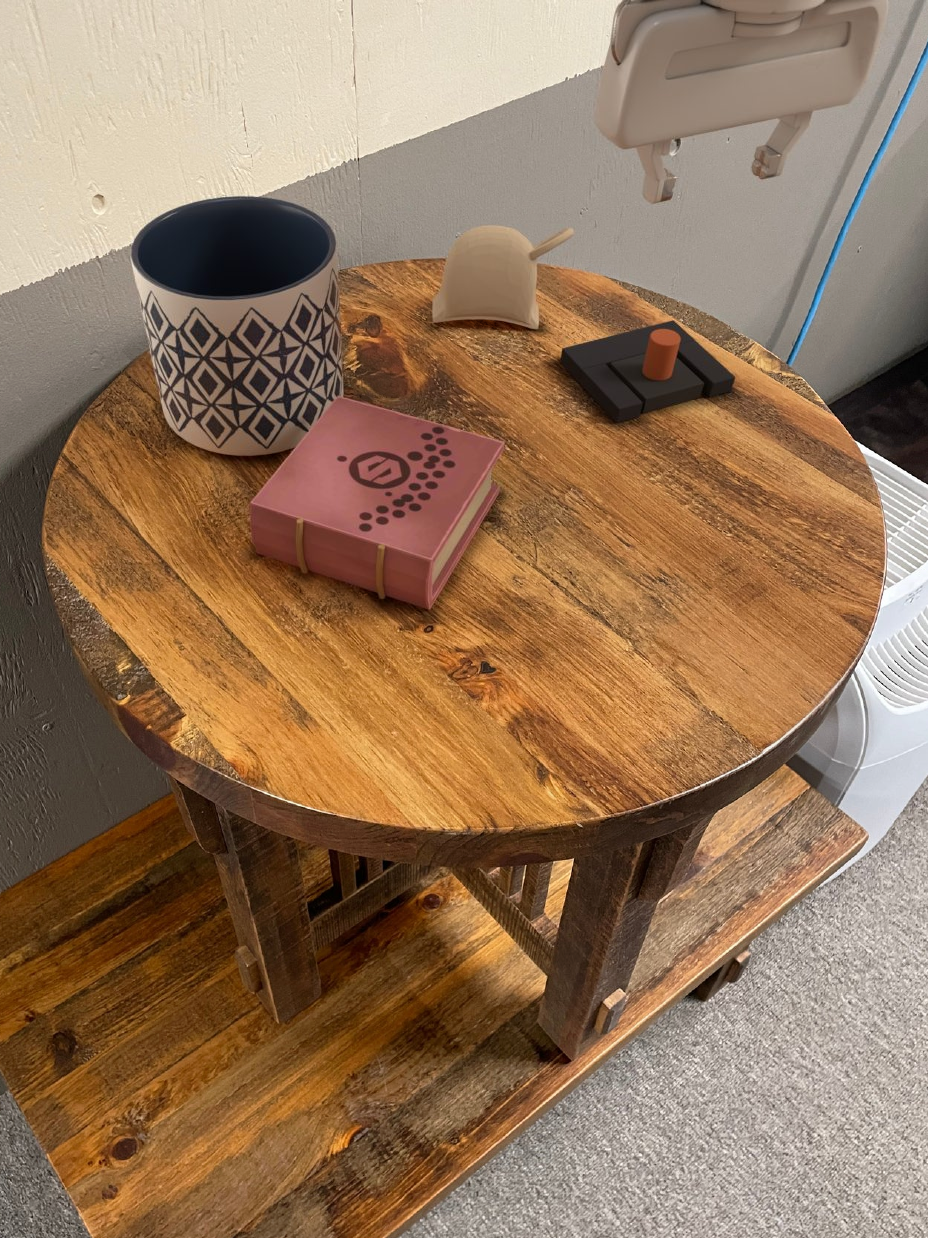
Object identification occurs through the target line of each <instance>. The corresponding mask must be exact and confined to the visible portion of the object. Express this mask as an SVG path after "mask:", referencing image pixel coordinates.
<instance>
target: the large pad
mask: <svg viewBox="0 0 928 1238" xmlns="http://www.w3.org/2000/svg"><path fill="white" fill-rule="evenodd" d="M658 329H669V330H672V331H674V332H676V333H678V334H679V336H680V339H681V340H680V344H679V348H678V352H677V356H676V357H677V358H678V359H679V360H680V361H681V362H682V363H683V364H684V365H685V366H687V367H688V368H689V369H690V370H691V371H692V372H693V373H694V374H695V375H696V376H697V377H698V378H699V379H700V380H701V381H702V382H703V383H704V386H703V389H702V393H704V394H705V395H706V396H707V397H708V398H712V397H715V396H719V395H723V394H726V393H729V392H732V389H733V387H734V384H735V381H736V376H735V375H734V374H733V373H732V372H730V371H729V369H727V367H725V366H724V365H723V364H722V363H721V362H720V361H719V360H718V359H717V358H715V357H714V356H713V355H712V354H711V353H710V352H709V351H708V350H706V348H705V347H703V345H701V344H700V342H698V341H697V340H696V339H695V338H694V337H692V335H690V333H688V331H686V330H685V329H684V328H683V327H682V326H681V325H680V324H679V323H677V321H675V319H673V320H669V321H664V322H660V323H657V324H653V325H648V326H644V327H641V328H637V329H633V330H629V331H626V332H620V333H618V334H614V335H613V334H612V335H609V336H605V337H602V338H597V339H594V340H590V341H586V342H582V343H578V344H574V345H570V346H566V347H562V348H561V354H560V359H559V363H560V364H561V365H562V367H563V368H564V369H565V371H567V372H568V373H569V374H570V375H571V377H572V378H573V379H575V381H576V382H577V383H578V384H579V385H580V386H581V387H582V388H583V389H584V390H585V391H586V392H587V394H588V395H589V396H590V397H591V398H592V399H593V400H594V401H595V402H596V404H597V405H599V406H600V408H601V409H602V410H603V411H604V412H605V413H606V414H607V415H608V416H609V417H610V418H611V420H612V421H613V422H614V423H615V424H619V423H623V422H626V421H629V420H633V419H637V418H640V416H641V413H642V412H641V408H642V404H643V403H642V401H641V400H640V399H639V398H638V397H637V396H636V395H635V394H634V393H633V392H632V391H631V390H630V389H629V388H628V387H627V386H626V385H625V384H624V383H623V382H622V381H621V380H620V379H619V378H618V377H617V376H616V375H615V374H614V372H613V371H612V370H611V369H610V368H609V367H610V363H611V362H615V361H619V360H623V359H626V358H630V357H634V356H638V355H642V354H645V353H646V351H647V347H648V343H649V338H650V334H651V333H652V332H653V331H655V330H658Z"/></svg>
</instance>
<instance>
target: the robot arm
mask: <svg viewBox="0 0 928 1238" xmlns="http://www.w3.org/2000/svg"><path fill="white" fill-rule="evenodd" d="M889 4H890V3H889V0H621V2H619V3H618V4H617V6H616V8H615V11H614V13H613V19H612V25H611V33H610V40H609V46H608V49H607V52H606V56H605V60H604V63H603V66H602V67H603V68H602V72H601V76H600V80H599V85H598V89H597V93H596V100H595V105H594V111H593V120H594V123H595V126H596V127H597V129H598V131H599V132H600V134H601V135H602V136H603V137H604V138H605V139H607V140H608V141H609V142H611V143H612V144H613V145H614V146H616V147H617V148H620V149H622V150H630V149H636V151H637V155H638V157H639V160H640V163H641V165H642V168H643V171H644V177H643V183H642V189H641V193H642V197H643V199H644V200H646V202H648V203H650V204H651V205H654V204H659V203H663V202H668V201H671V200H672V198H673V196H674V191H673V189H674V188H675V185H676V182H677V176H676V175H675V174H673V173H672V172H669V170H668V169H667V168H665V166H664V162H663V159H662V157H665V156H668V155H669V154H670V150H671V145H672V141H675V140H679V139H684V138H688V137H689V138H690V137H694V136H699V135H703V134H704V135H705V134H708V133H709V134H710V133H714V132H718V131H722V130H727V129H728V130H729V129H733V128H738V127H743V126H747V125H752V124H757V123H761V122H766V121H772V120H776V119H778V120H779V121H778V123H777V124H776V126H775V128H774V129H773V131H772V132H771V134H770V135H769V138H768V140H767V141H766V143H765V144H763V145H760V146H756V148H755V152H754V155H753V157H754V160H753V161H752V162H751V166H750V167H751V172H752V175H754V176H755V177H758V179H760V180H761V181H762V180H767V179H773V178H776V177H779V176H781V174H782V173H783V170H784V166H785V163H786V159H787V155H788V154H789V153H790V152H791V150H792V149H793V148H794V147H795V145H796V144H797V142H798V141H799V140H800V139H801V137H802V136H803V134H804V133H805V131H806V130H807V129H808V127H809V125H810V122H811V119H812V115H813V112H815V111H820V110H826V109H831V108H834V107H841V106H845V105H848V104H851V103H852V102H853V101H854V99H856V97H857V96H858V95H859V94H860V92H861V91H862V90H863V89H864V87H865V85H866V84H867V82H868V80H869V77H870V75H871V72H872V70H873V66H874V64H875V61H876V57H877V55H878V51H879V49H880V48H879V47H880V46H881V45H880V44H881V41H882V38H883V34H884V30H885V27H886V22H887V18H888V15H889V7H890V6H889Z"/></svg>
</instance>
